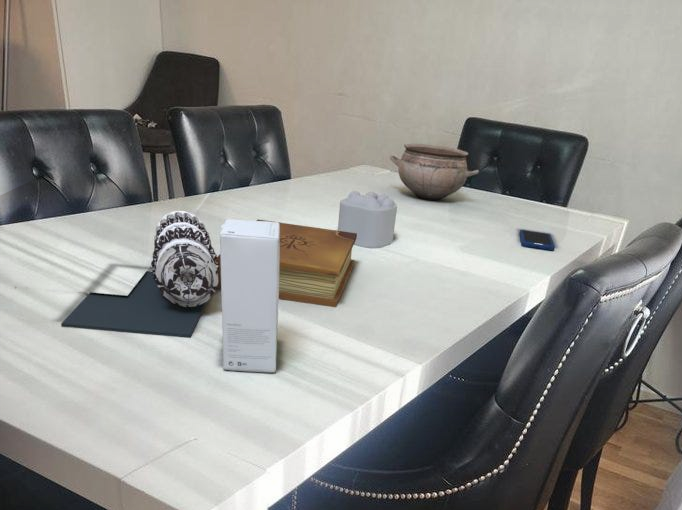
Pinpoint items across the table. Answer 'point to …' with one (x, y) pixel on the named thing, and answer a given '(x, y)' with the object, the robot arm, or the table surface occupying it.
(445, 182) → the cooking pot
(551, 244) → the cell phone
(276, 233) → the cosmetic box
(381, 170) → the table surface
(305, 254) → the diary
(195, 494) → the table surface
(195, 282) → the decorative tower
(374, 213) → the lumpy-topped squat cylinder
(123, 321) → the mat
